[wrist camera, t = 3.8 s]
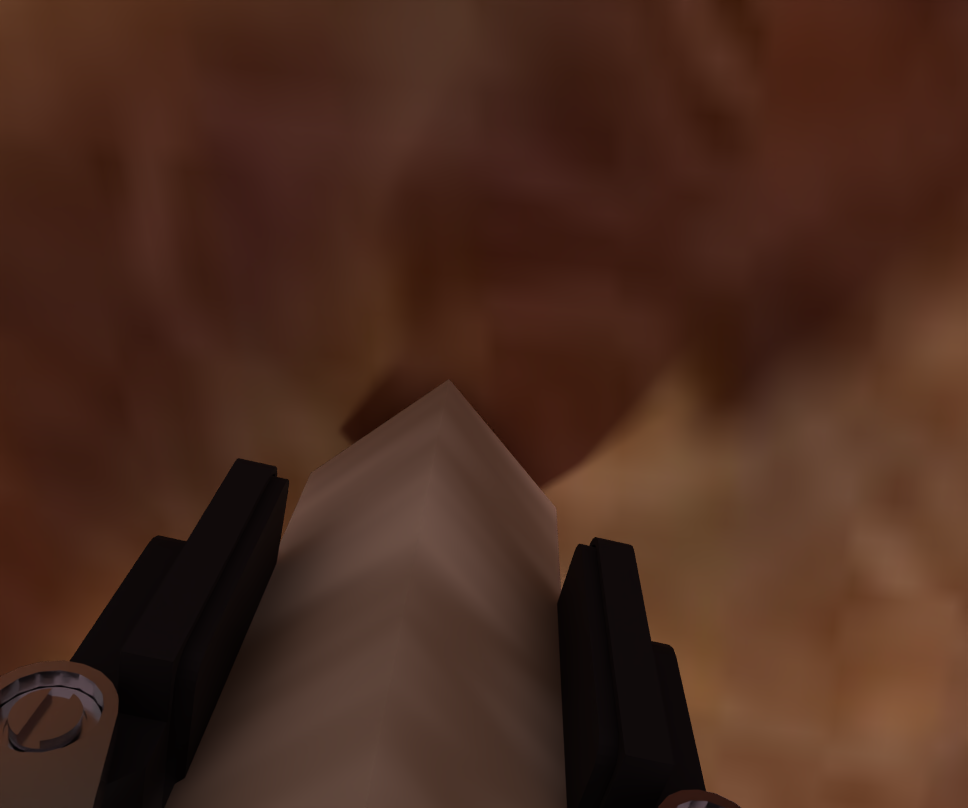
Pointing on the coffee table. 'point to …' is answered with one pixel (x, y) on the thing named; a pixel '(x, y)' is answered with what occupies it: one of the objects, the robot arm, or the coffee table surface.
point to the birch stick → (400, 635)
